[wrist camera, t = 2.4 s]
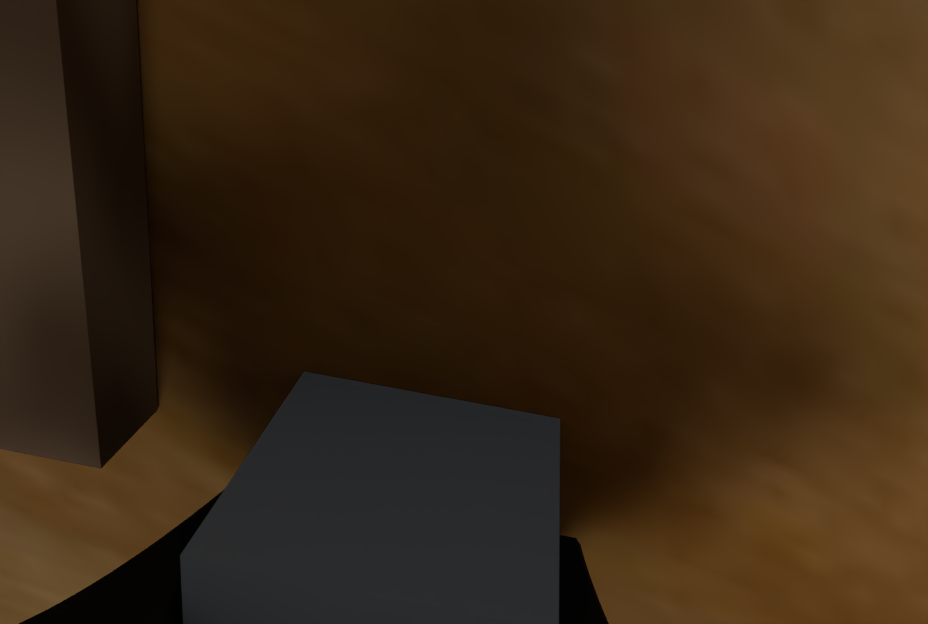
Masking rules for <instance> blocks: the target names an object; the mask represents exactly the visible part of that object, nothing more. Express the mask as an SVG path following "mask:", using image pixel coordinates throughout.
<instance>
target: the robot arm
mask: <svg viewBox="0 0 928 624" xmlns="http://www.w3.org/2000/svg"><path fill="white" fill-rule="evenodd" d="M223 491H224V490H223ZM223 491H222V492H223ZM222 492H221V493H219V494H218V495H217V496H216V497H214V498H213V499H212V500H211V501H209V502H208V503H207V504H206V505H204V506H203V507H202V508H200V509H199V510H198V511H197V512H195V513H194V514H193V515H191V516H190V517H189V518H188V519H186V520H185V521H183V522H182V523H181V524H179V525H178V526H177V527H175V528H174V529H173V530H171V531H170V532H169V533H167V534H166V535H165V536H163V537H162V538H161V539H159V540H158V541H156V542H155V543H154V544H152V545H151V546H149V547H148V548H147V549H145V550H144V551H142V552H141V553H139V554H138V555H136V556H135V557H133V558H132V559H130V560H129V561H127V562H126V563H124V564H123V565H121V566H120V567H118V568H117V569H115V570H114V571H112V572H111V573H109V574H108V575H106V576H104V577H103V578H101V579H100V580H98V581H96V582H95V583H93V584H92V585H90V586H88V587H87V588H85V589H83V590H82V591H80V592H78V593H76V594H75V595H73V596H71V597H69V598H68V599H66V600H64V601H62V602H61V603H59V604H57V605H55V606H53V607H51V608H50V609H48V610H46V611H44V612H42V613H40V614H38V615H35V616H33V617H31V618H29V619H27V620H25V621H23V622H21V623H19V624H183V614H182V590H181V566H180V555H181V553H182V552H183V550H184V549H185V547H186V546H187V544H188V543H189V541H190V540H191V538H192V537H193V535H194V534H195V532H196V531H197V529H198V528H199V526H200V525H201V524H202V522H203V521H204V519H205V518H206V516H207V515H208V513H209V512H210V510H211V509H212V507H213V506H214V504H215V503H216V501H217V500H218V498H219V497H220V495H221V494H222ZM559 624H609V623H608V621H607V619H606V616H605V614H604V612H603V609H602V607H601V604H600V602H599V599H598V597H597V594H596V591H595V589H594V586H593V583H592V581H591V578H590V575H589V572H588V569H587V566H586V563H585V560H584V556H583V553H582V549H581V545H580V543H579V542H578V541H577V539H576V538H572V537H567V536H562V535H559Z"/></svg>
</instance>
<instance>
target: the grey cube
mask: <svg viewBox="0 0 928 624" xmlns="http://www.w3.org/2000/svg"><path fill="white" fill-rule="evenodd" d="M559 527H560V418H555V417H549V416H544V415H539V414H533V413H528V412H522V411H517V410H511V409H506V408H501V407H495V406H490V405H484V404H479V403H473V402H468V401H463V400H457V399H452V398H446V397H441V396H435V395H430V394H424V393H419V392H414V391H408V390H403V389H397V388H392V387H386V386H381V385H376V384H370V383H365V382H359V381H354V380H348V379H343V378H338V377H332V376H327V375H321V374H316V373H310V372H305V371H304V372H303V374H302V375H301V377H300V378H299V380H298V381H297V383H296V384H295V386H294V387H293V389H292V390H291V392H290V393H289V395H288V396H287V398H286V399H285V401H284V402H283V403H282V405H281V406H280V408H279V409H278V411H277V412H276V414H275V415H274V417H273V418H272V420H271V421H270V423H269V424H268V426H267V427H266V429H265V430H264V432H263V433H262V435H261V436H260V438H259V439H258V441H257V442H256V443H255V445H254V446H253V448H252V449H251V451H250V452H249V454H248V455H247V457H246V458H245V460H244V461H243V463H242V464H241V466H240V467H239V469H238V470H237V472H236V473H235V475H234V476H233V478H232V479H231V481H230V482H229V484H228V485H227V486H226V488H225V489H224V491H223V492H222V494H221V495H220V497H219V498H218V500H217V501H216V503H215V504H214V506H213V507H212V509H211V510H210V512H209V513H208V515H207V516H206V518H205V519H204V521H203V522H202V524H201V525H200V526H199V528H198V529H197V531H196V532H195V534H194V535H193V537H192V538H191V540H190V541H189V543H188V544H187V546H186V547H185V549H184V550H183V552H182V553H181V555H180V566H181V590H182V614H183V624H559Z"/></svg>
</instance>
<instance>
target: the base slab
mask: <svg viewBox="0 0 928 624" xmlns="http://www.w3.org/2000/svg"><path fill="white" fill-rule="evenodd" d="M157 410H158V403H157V384H156V365H155V346H154V327H153V308H152V290H151V271H150V252H149V233H148V214H147V195H146V176H145V157H144V138H143V119H142V100H141V81H140V62H139V44H138V25H137V6H136V0H0V449H4V450H9V451H14V452H19V453H24V454H29V455H34V456H40V457H45V458H50V459H55V460H60V461H65V462H70V463H75V464H81V465H86V466H91V467H96V468H102V467H103V466H104V465H105V464H106V463H107V462H108V461H109V460H110V459H111V458H112V457H113V456H114V455H115V453H116V452H117V451H118V450H119V449H120V448H121V447H122V446H123V445H124V444H125V443H126V442H127V441H128V440H129V439H130V438H131V437H132V436H133V435H134V434H135V433H136V432H137V431H138V430H139V428H140V427H141V426H142V425H143V424H144V423H145V422H146V421H147V420H148V419H149V418H150V417H151V416H152V415H153V414H154V413H155V412H156V411H157Z"/></svg>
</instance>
